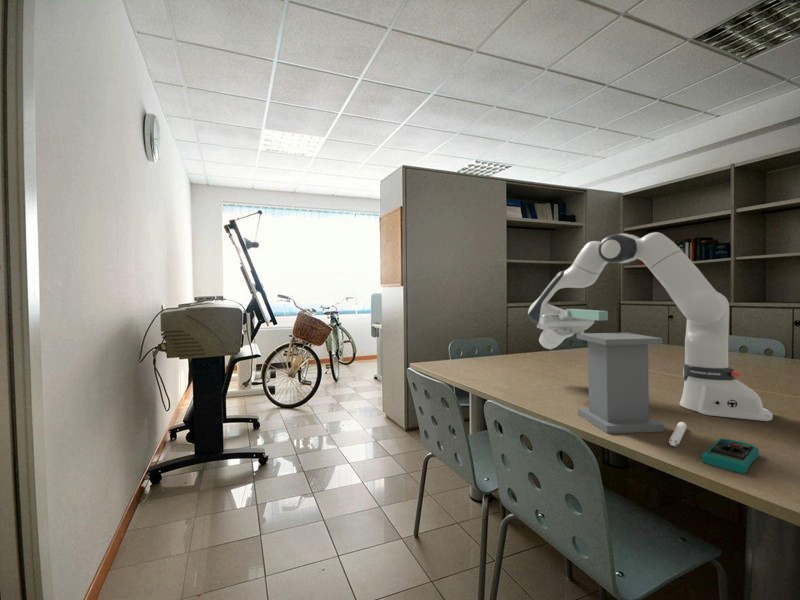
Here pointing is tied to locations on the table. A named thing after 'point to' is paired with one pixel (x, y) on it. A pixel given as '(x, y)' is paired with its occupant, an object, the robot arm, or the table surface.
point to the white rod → (677, 434)
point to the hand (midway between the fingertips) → (574, 312)
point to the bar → (588, 314)
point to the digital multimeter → (731, 455)
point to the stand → (619, 382)
